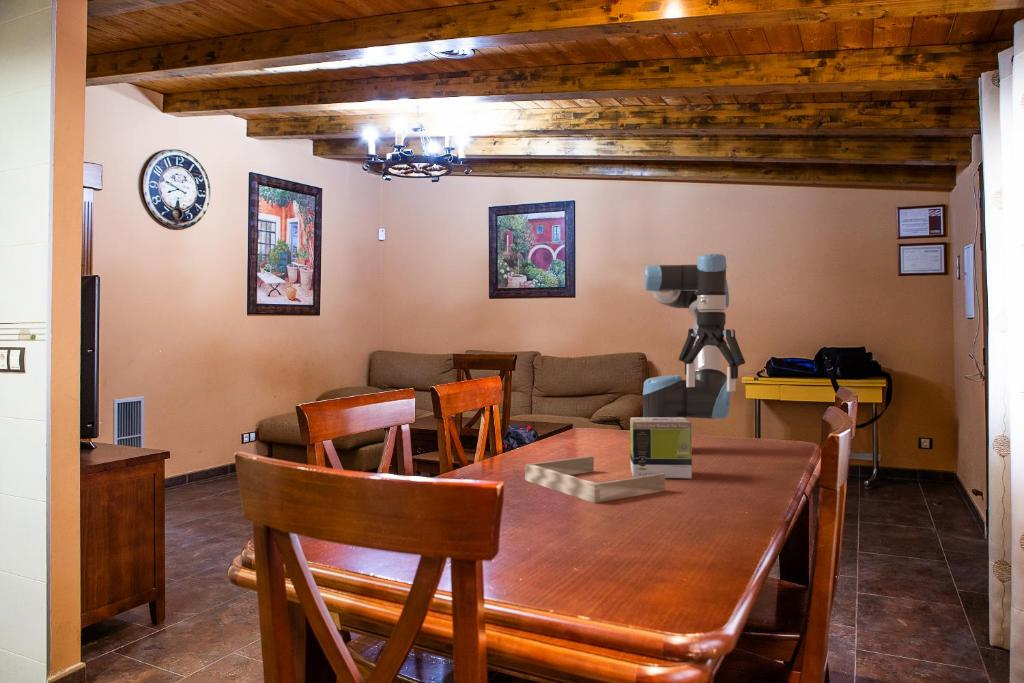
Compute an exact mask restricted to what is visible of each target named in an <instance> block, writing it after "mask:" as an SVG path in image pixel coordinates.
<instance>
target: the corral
mask: <svg viewBox="0 0 1024 683" xmlns="http://www.w3.org/2000/svg"><path fill="white" fill-rule="evenodd" d="M594 458H595V457H594V456H592V455H589V456H581V457H573V458H566V459H565V458H564V459H557V460H550V461H542V462H536V463H535V462H533V463H527V464H524V481H525V480H526V481H527V482H529V483H531V484H535V485H538V486H542V487H544V488H548V489H550V490H553V491H557V492H558V493H559V492H560V493H563V494H565V495H570V496H571V497H574V498H578V499H581V500H583V501H587V502H589V503H593V504H598V503H603V502H610V501H614V500H619V499H620V500H621V499H625V498H632V497H637V496H643V495H650V494H655V493H659V492H660V493H661V492H665V490H666V486H665V485H666V478H665V474H663V473H660V474H653V475H647V476H641V477H628V478H624V479H616V480H611V481H610V480H609V481H602V482H594V481H590V480H587V479H583V478H579V477H576V476H574V475H578V474H586V473H592V472H594V469H595V468H594V465H595V464H594V462H595V461H594V460H595V459H594ZM526 481H525V482H526Z"/></svg>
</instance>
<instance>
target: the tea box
mask: <svg viewBox="0 0 1024 683" xmlns="http://www.w3.org/2000/svg"><path fill="white" fill-rule="evenodd" d="M629 433H630V435H629V436H630V437H629V438H630V440H629V441H630V442H629V443H630V446H629V447H630V448H629V449H630V450H629V452H630V454H629V455H630V456H629V457H630V458H629V459H630V461H629V462H630V471H631V474H632V478H634V477H641V476H647V475H653V474H660V473H663V474H665V479H693V455H692V454H693V452H692V451H693V449H692V447H693V446H692V444H693V443H692V442H693V441H692V440H693V439H692V421H690V420H689V419H688V418H684V417H674V418H671V417H643V416H642V417H641V416H640V417H638V416H637V417H630V419H629Z"/></svg>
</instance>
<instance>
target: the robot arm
mask: <svg viewBox="0 0 1024 683" xmlns="http://www.w3.org/2000/svg"><path fill="white" fill-rule="evenodd" d="M727 267H728V266H727V257H726V255H724V254H722V253H707V254H701V255H700V254H699V256H698V258H697V264H676V265H675V264H654V265H647V266H646V267H645V268H644V288H645V290H646V291H649V292H651V294H652V296H653V298H654V299H655V300H656V301H657V302H658V303H660V304H662V305H664V306H667V307H670V308H674V309H688V313H689V314H690V315H691V316H693V328H689V329H688V330H687V331H688V332H687V337H686V340H685V342H684V344H683V347H682V350H681V352H680V354H679V357H678V361H680V362H683V363H684V375H685V376H686V379H683V376H682V375H681V374H675V375H673V374H671V375H670V374H669V375H662V376H655V377H650V378H647V379H646V380H644V381H643V389H642V390H643V392H642V396H643V397H642V398H643V400H642V401H643V402H642V403H643V404H642V408H643V409H642V417H671V418H674V417H684V418H686V419H688V418H689V419H710V420H711V419H712V420H716V419H719V420H720V419H721V420H722V419H727V417H729V414H730V407H731V401H732V392H736V390H737V389H736V386H737V384H736V383H737V380H736V379H739V367H740V366H743V365H745V364H746V360H745V357H744V355H743V353H742V349H740V345H739V343H738V341H737V338H736V330H735V329H733V328H732V329H731V328H728V329H725V325H726V322H727V321H726V317H727V316H726V315H727V314H726V312H725V311H726V309H727V308H728V307H729V305H730V295H729V294H730V293H729V285H728V281H727ZM722 357H724V359H725V361H727V363H728V366H727V367H726V368H727V369H726V370H727V371H726V373H725V372H724V371H723V365H722V364H723V361H722V359H723V358H722Z"/></svg>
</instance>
